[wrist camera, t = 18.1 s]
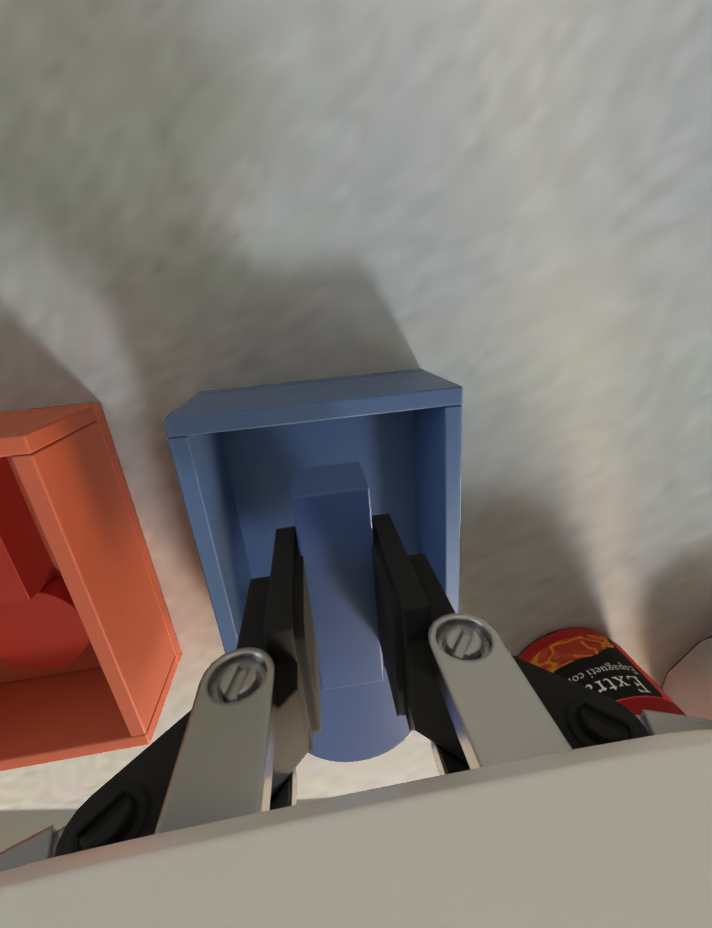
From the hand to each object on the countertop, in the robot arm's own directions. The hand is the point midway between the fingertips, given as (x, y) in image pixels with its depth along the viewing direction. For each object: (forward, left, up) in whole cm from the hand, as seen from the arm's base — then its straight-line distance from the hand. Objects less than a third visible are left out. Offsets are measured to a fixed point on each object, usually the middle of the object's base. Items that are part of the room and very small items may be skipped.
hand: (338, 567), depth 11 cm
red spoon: (+2, -13, -6) cm, 15 cm away
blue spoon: (+2, 0, 0) cm, 3 cm away
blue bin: (+2, 0, -7) cm, 7 cm away
